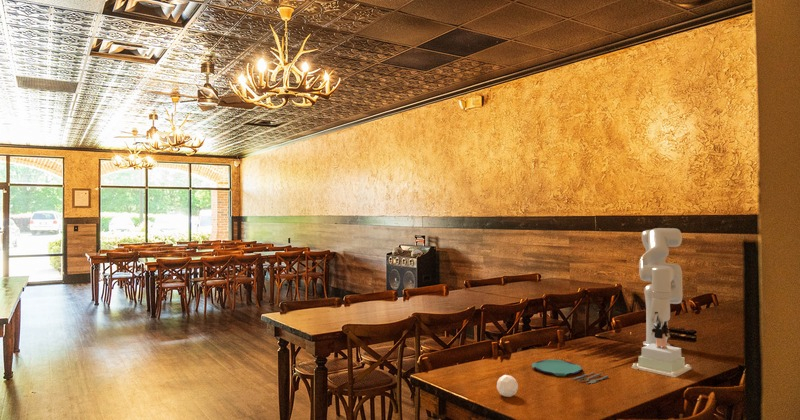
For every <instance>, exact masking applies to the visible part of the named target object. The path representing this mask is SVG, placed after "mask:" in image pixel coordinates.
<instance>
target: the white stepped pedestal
mask: <svg viewBox="0 0 800 420" xmlns="http://www.w3.org/2000/svg"><path fill="white" fill-rule="evenodd" d="M662 347H663V346H661V348H656V344H655V343H652V344H650V345H647V346H645V345H643V347H641V355H639V356H638V357H637V358H638V359H637V363H632V365H631V369H635V370H638V369H639V371H643V372H649V373H653V374H657V375H662V376H667V377H672V378H677V377H679V376H681V375H683V374H685V373H687V372H688V371H691V370H692V366H691V364H687V363H686V362H685V357H683V356H682V348H681V347H676V346H672V345H670V346H666V347H667V349H662Z"/></svg>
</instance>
